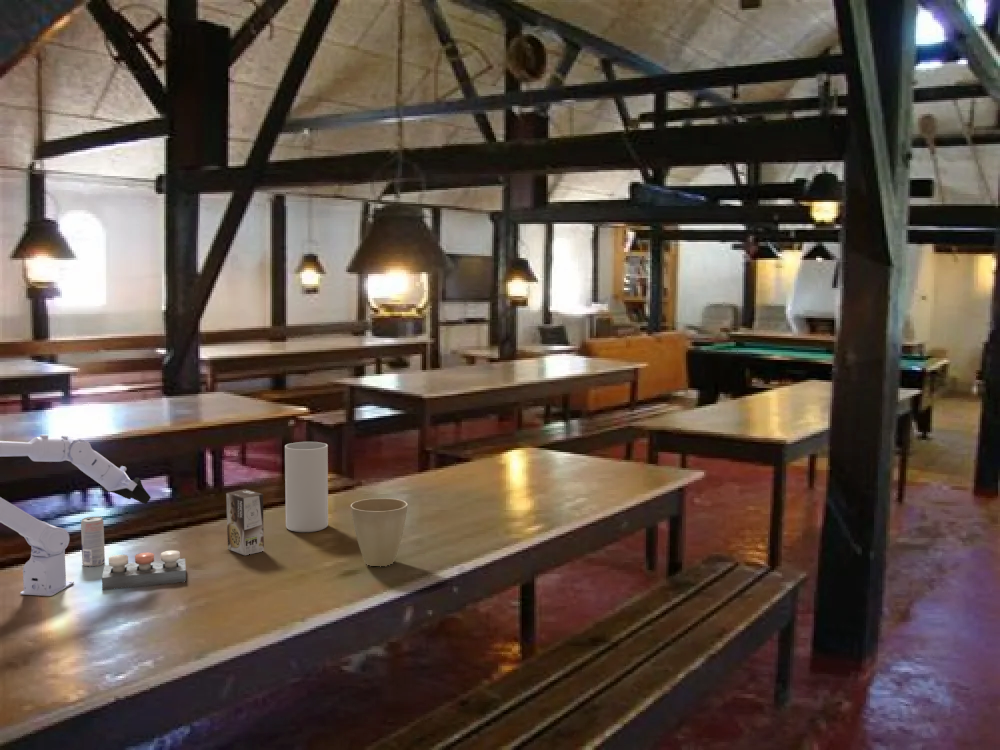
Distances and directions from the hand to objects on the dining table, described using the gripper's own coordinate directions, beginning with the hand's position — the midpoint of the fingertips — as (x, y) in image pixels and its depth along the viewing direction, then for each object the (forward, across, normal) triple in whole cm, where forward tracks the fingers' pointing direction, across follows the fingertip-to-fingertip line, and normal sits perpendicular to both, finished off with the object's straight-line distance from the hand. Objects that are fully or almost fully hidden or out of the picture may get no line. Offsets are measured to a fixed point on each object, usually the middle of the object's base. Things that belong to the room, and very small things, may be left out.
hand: (139, 498), depth 238 cm
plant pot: (+43, -46, -14) cm, 64 cm away
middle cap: (+6, -12, +16) cm, 20 cm away
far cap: (+10, -15, +12) cm, 21 cm away
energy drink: (+6, +10, +18) cm, 22 cm away
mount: (+7, -12, +17) cm, 22 cm away
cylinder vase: (+50, -5, -21) cm, 55 cm away
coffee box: (+31, -10, -3) cm, 32 cm away
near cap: (+2, -8, +19) cm, 21 cm away
